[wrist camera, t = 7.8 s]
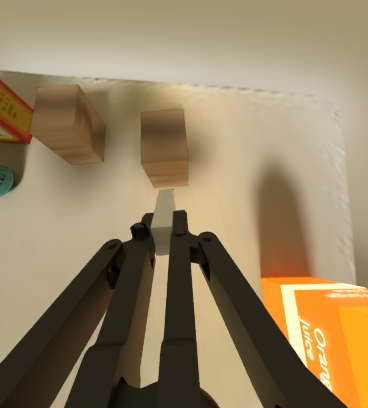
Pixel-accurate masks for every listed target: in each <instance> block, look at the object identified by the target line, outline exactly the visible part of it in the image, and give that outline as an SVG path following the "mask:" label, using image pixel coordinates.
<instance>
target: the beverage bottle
mask: <svg viewBox="0 0 368 408" xmlns="http://www.w3.org/2000/svg"><path fill="white" fill-rule="evenodd" d="M13 181H14V177H13V174H12V172H11V171H10V170H9V169H8V167H5V166H3V165H2V164H1V165H0V197H1V196H3V195H4V194H6V193H7V192H8V191H9V190H10V188H11V187H12V184H13Z"/></svg>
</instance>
